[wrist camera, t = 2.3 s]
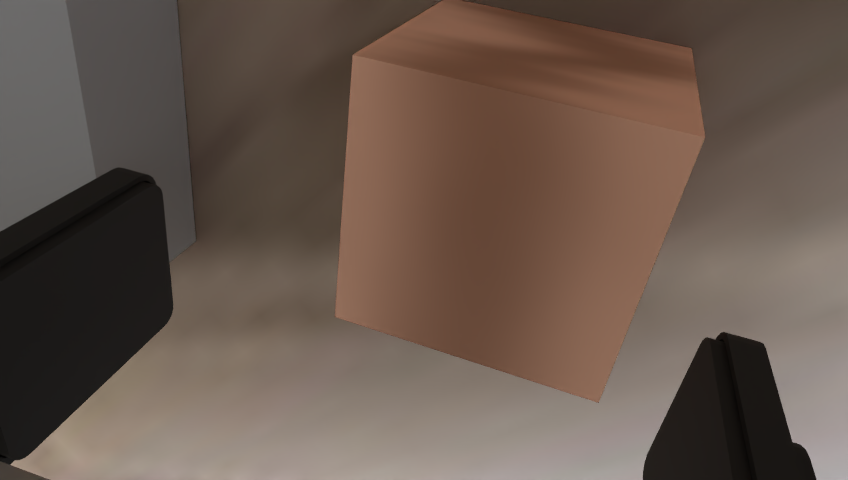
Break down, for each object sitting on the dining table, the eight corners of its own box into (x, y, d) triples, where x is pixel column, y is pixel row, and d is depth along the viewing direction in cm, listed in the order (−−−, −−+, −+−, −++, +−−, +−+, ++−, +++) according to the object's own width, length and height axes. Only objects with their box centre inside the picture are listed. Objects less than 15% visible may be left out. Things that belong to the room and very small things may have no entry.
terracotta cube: (691, 47, 15) (705, 137, 10) (616, 256, 18) (598, 402, 13) (448, -4, 16) (352, 54, 11) (419, 201, 19) (334, 316, 14)
